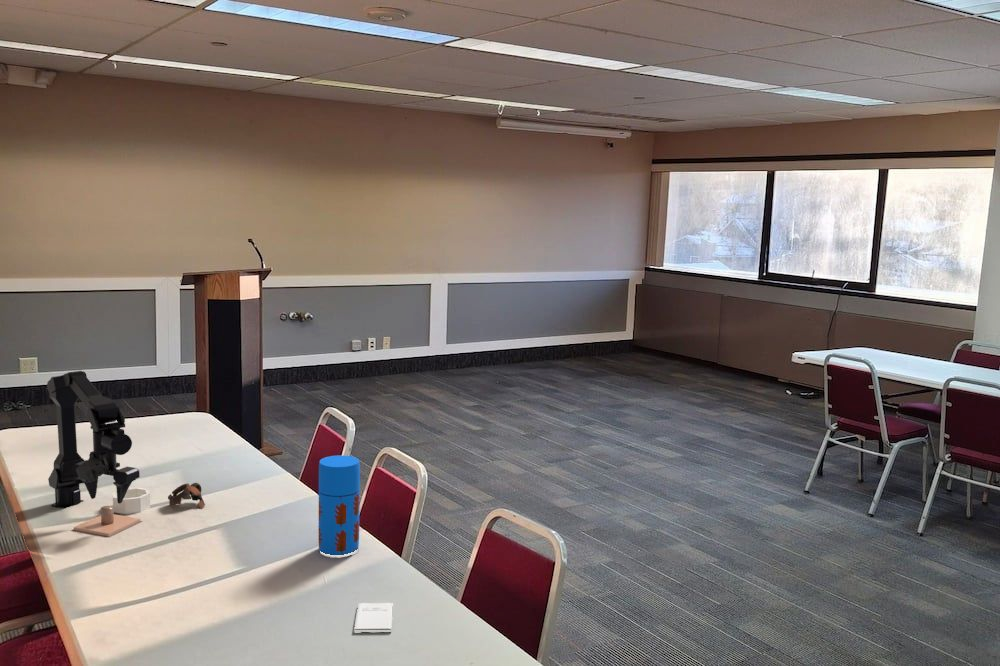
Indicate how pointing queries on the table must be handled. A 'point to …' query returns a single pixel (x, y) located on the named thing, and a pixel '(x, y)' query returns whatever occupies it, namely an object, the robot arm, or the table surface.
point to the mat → (107, 536)
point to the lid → (107, 523)
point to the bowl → (132, 501)
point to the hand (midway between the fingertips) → (106, 500)
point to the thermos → (339, 504)
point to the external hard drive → (374, 616)
